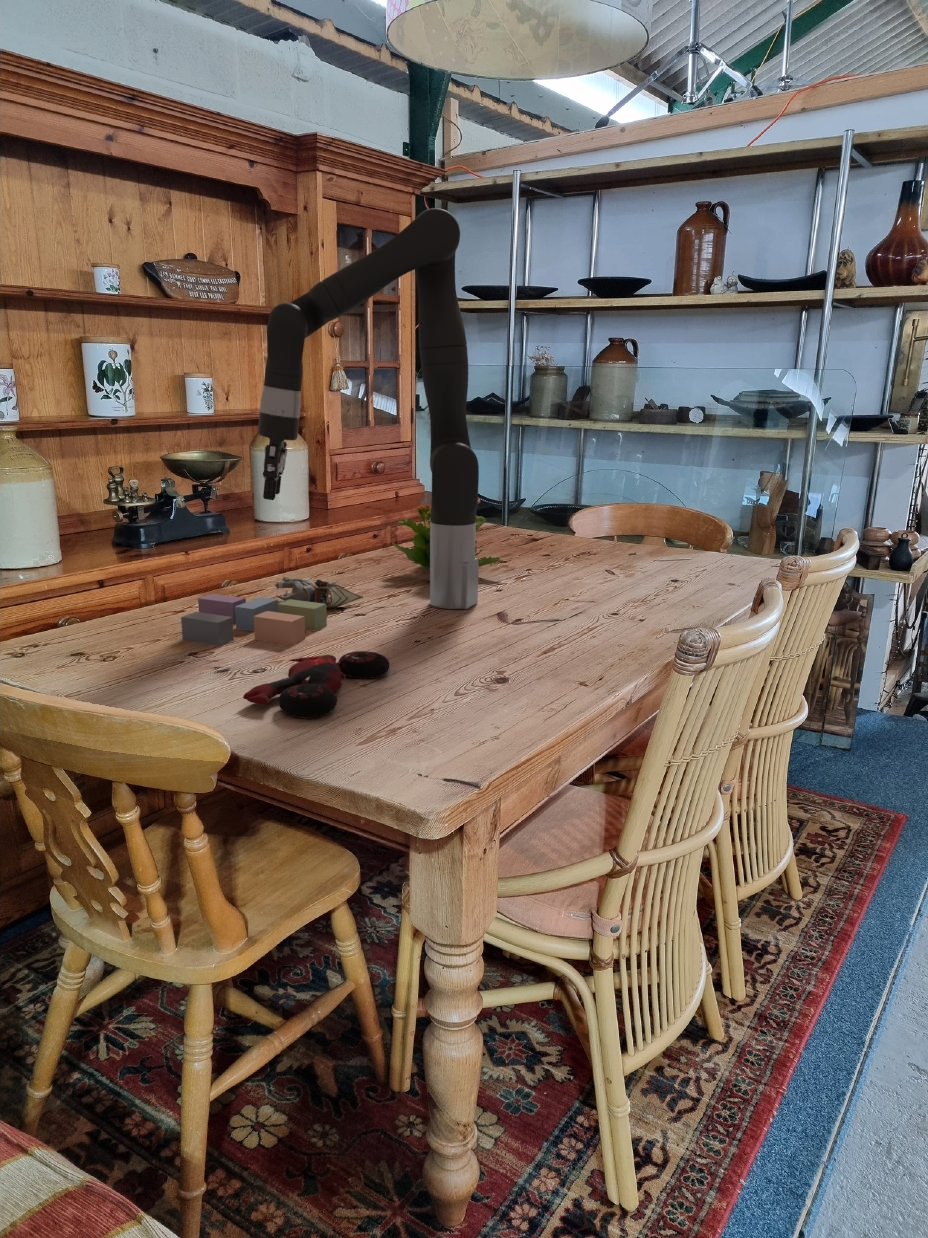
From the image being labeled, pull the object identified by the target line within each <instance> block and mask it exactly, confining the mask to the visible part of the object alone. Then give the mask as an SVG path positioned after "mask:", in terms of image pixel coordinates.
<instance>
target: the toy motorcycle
mask: <svg viewBox="0 0 928 1238" xmlns="http://www.w3.org/2000/svg"><path fill="white" fill-rule="evenodd" d="M288 661H290V662H296V663H295V664H292V665H291V666H290V667H289V669H288V671H287V675H288V676H287V677H286V678H282V679H279V680H275V681H272V682H268V683H267V682H266V683H263V684H259V685H256V686H253V687H252V688H251V689H250V690H247V692H245V693H244V694H243V696H242V697H243V699H244V700H247V701H248V702H250V703H252V704H256V705H261V706H268V705H269V704H270V700H271V699H273V698H275V697H277V696H278V695H279V698H278V704H279V705H278V706H279V708H280V709H281V711H282V712H283V713H284V714H286V715H288V716H291V717H293V718H294V717H295V718H300V719H301V718H302V719H313V718H319V717H322V716H325V715H328V714H330V713H331V712H332V711H333V710H334V709H335V708H336V706H337V704H338V697H337V695H336V694H337V693H338V692H339V691H340V690H341V688H342V686H343V683H342V682H343V680H344V679H345V678H346V676H347V677H350V678H355V679H375V678H379V677H381V676H384V675H385V674H387V673H388V672H389V670H390V661H389V659H388V658H387V657H386V656H385V655H383V654H381V653H378V652H373V651H368V650H367V651H366V650H360V651H359V650H356V651H352V652H348V653H345V654H343V655H342V656H340V658H339V660H338V662H337V658H336V656H334V655H333V654H320V655H315V656H307V657H298V658H295V659H294V658H292V659H289V660H288Z"/></svg>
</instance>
